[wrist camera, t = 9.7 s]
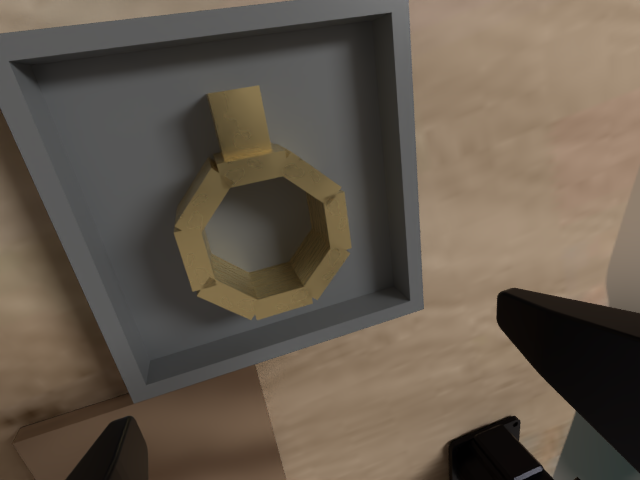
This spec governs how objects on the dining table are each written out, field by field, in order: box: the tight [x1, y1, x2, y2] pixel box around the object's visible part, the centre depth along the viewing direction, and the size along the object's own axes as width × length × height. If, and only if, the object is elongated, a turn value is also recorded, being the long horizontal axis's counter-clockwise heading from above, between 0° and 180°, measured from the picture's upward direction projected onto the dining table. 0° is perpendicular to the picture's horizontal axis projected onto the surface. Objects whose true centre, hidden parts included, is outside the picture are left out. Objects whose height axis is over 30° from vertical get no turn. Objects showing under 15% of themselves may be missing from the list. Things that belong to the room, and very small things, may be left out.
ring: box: [174, 85, 352, 320], centre depth 17 cm, size 10×7×3 cm
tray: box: [0, 0, 424, 404], centre depth 18 cm, size 16×16×2 cm
